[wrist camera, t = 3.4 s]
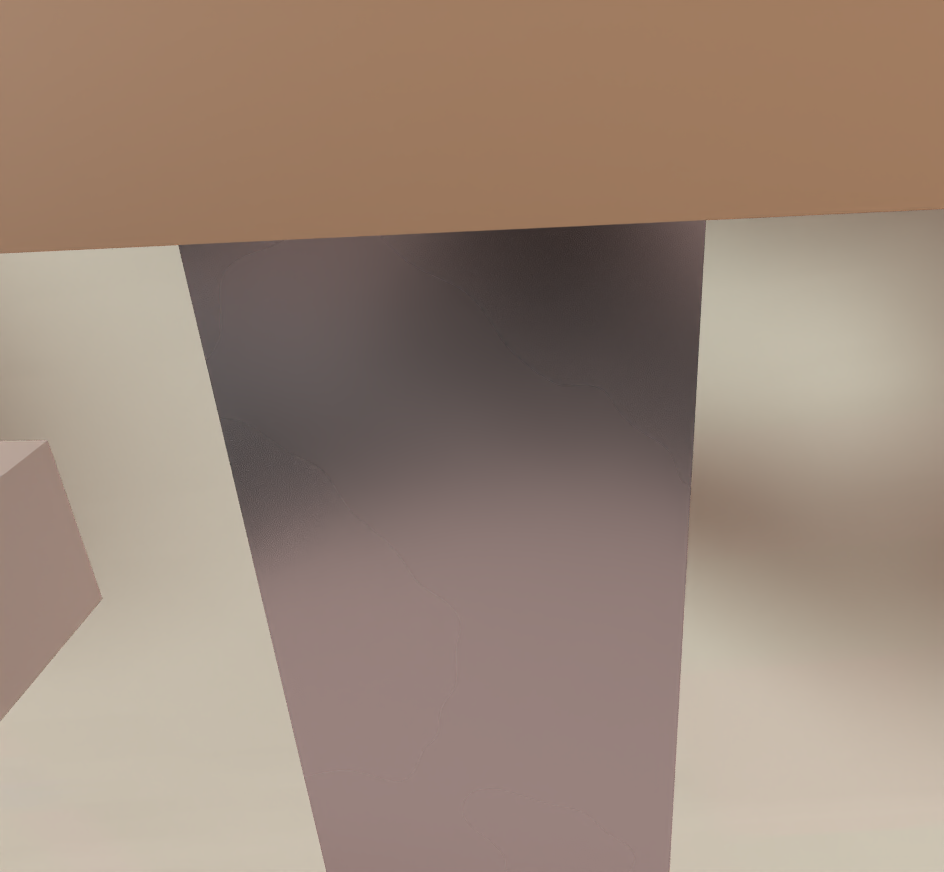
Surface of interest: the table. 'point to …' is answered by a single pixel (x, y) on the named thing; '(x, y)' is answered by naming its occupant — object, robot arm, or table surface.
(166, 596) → the table surface
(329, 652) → the shaft
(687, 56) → the block
